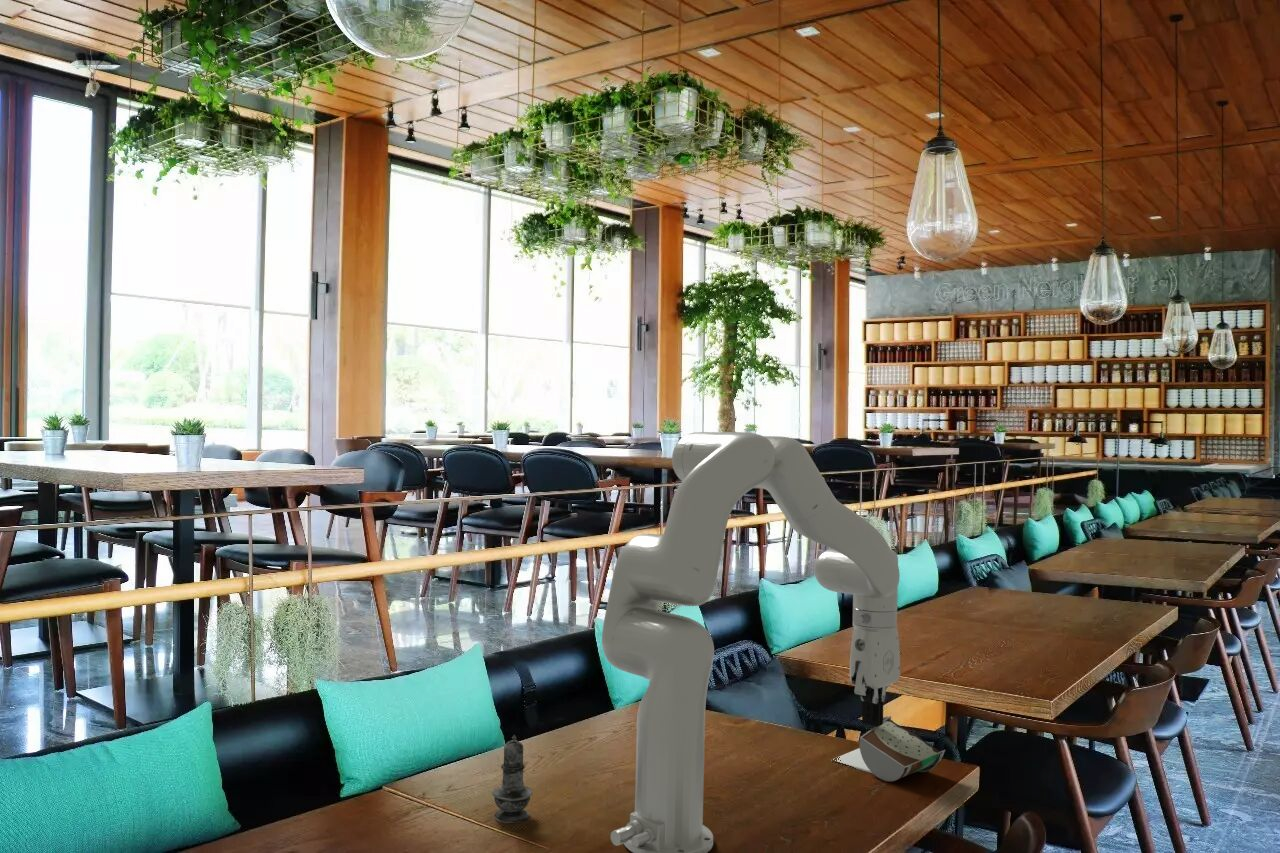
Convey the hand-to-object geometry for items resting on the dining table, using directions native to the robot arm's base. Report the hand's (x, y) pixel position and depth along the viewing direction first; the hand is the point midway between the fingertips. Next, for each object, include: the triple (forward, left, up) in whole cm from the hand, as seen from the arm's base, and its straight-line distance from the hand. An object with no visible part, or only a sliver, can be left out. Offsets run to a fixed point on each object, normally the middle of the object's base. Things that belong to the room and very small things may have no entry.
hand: (872, 723), depth 164 cm
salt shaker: (-59, +26, -8) cm, 65 cm away
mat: (+2, +1, -8) cm, 8 cm away
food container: (-4, -4, -6) cm, 8 cm away
